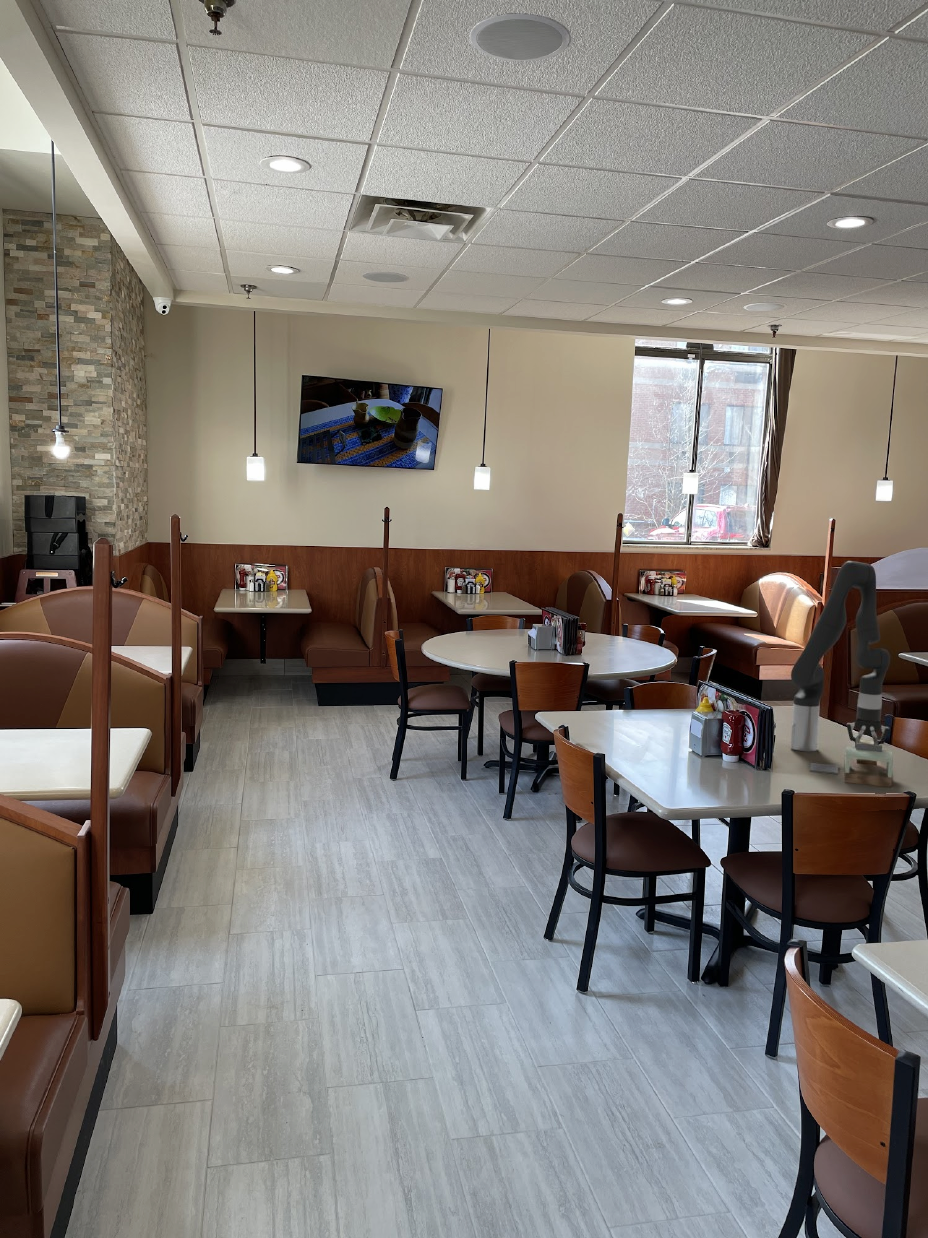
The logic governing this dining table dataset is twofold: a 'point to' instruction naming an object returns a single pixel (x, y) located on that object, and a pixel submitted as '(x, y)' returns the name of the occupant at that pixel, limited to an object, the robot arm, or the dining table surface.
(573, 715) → the dining table surface
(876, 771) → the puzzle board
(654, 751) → the dining table surface
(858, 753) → the pale green toy table
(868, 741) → the birch block
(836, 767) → the rubber mat
